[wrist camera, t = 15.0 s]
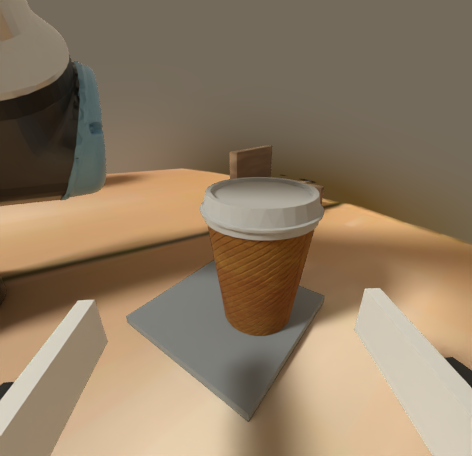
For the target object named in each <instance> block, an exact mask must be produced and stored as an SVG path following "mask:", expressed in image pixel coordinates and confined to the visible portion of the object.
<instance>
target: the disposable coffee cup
mask: <svg viewBox="0 0 472 456" xmlns="http://www.w3.org/2000/svg"><path fill="white" fill-rule="evenodd" d="M200 212H201V214H202V216H203V218H204V219H205V222H206V224H207V225H208V229H209V234H210V239H211V244H212V249H213V254H214V259H215V265H216V270H217V276H218V281H219V285H220V290H221V295H222V300H223V304H224V305H223V306H224V311H225V316H226V318H227V321H228V322H229V323H230V324H231V325H232V326H233V327H234V328H235V329H237V330H238V331H240V332H242V333H245V334H248V335H254V336H265V335H270V334H273V333H276V332H278V331H280V330H282V329H283V328H284V327H285V326H286V324H287V323H288V321H289V318H290V314H291V311H292V307H293V303H294V300H295V296H296V293H297V289H298V286H299V282H300V279H301V275H302V271H303V268H304V264H305V261H306V257H307V253H308V250H309V246H310V243H311V239H312V236H313V232H314V229H315V228H316V226H317V225H318V223H319V221H320V220H321V219H322V217H323V215H324V208H323V206H322V205H321V204H320V194H319V191H318V190H317V189H316V188H315V187H313V186H311V185H308V184H306V183H302V182H298V181H295V180H289V179H282V178H270V177H246V178H235V179H229V180H224V181H220V182H217V183H214V184H212V185H211V186H209V187H208V188H207V189H206V191H205V197H204V202H202V203H201V206H200Z"/></svg>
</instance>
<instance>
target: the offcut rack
mask: <svg viewBox="0 0 472 456" xmlns="http://www.w3.org/2000/svg"><path fill="white" fill-rule="evenodd" d="M271 159H272V146H261V147H255V148H250V149H244V150H239V151H233V152H230V179H235V178H246V177H270V178H271ZM308 185H311V186H313V187H315V188H316V189H317V190H318V191H319V194H320V204H322V197H323V190H324V186H318V185H312V184H308Z"/></svg>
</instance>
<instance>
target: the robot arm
mask: <svg viewBox="0 0 472 456" xmlns="http://www.w3.org/2000/svg"><path fill="white" fill-rule="evenodd" d="M105 181H106V158H105V144H104V135H103V131H102V121H101V108H100V101H99V94H98V88H97V82H96V78H95V74H94V72H93V70H92V69H91V68H90V67H89V66H87V65H82V64H81V63H78V62H77V61H74V62H71V58H70V55H69V51H68V48H67V45H66V43H65V41H64V40H63V38H62V36H61V35H60V34H59V33H58V32H57V31H56V30H55V29H54V28H53V27H52V26H51V25H49V24H48V23H47V22H45V21H44V20H43V19H41V18H40V17H39V16H38V15H36V14H35V13H33V12H32V11H31V9H30V8H29V6H28V3H27V0H0V206H5V205H14V204H24V203H33V202H43V201H52V200H66V199H68V198H69V197H75V196H80V195H86V194H92V193H95V192H97V191H99V190H100V189H101V188H102V187H103V186H104V184H105ZM5 295H6V286H5V284H4V282H3V280H2V278H1V276H0V304H1V303H2V301H3V299H4V297H5ZM354 330H355V331H356V333H357V335H358V336H359V338H360V339H361V341H362V343H363V344H364V346H365V348H366V349H367V351H368V352H369V354H370V356H371V357H372V359H373V360H374V362H375V364H376V365H377V367H378V369H379V370H380V372H381V373H382V375H383V377H384V378H385V380H386V381H387V383H388V385H389V386H390V388H391V389H392V391H393V393H394V394H395V396H396V398H397V399H398V401H399V402H400V404H401V406H402V407H403V409H404V410H405V412H406V414H407V415H408V417H409V419H410V420H411V422H412V423H413V425H414V427H415V428H416V430H417V431H418V433H419V435H420V436H421V438H422V439H423V441H424V443H425V444H426V446H427V448H428V449H429V451H430V452H431V454H432V456H472V371H471V370H470V369H469V368H467V367H466V366H465V365H463V364H462V363H460V362H459V361H457V360H456V359H455V358H453V357H448V358H444V357H443V356H442V355H441V354H440V353H439V352H438V351H437V350H436V349H435V347H434V346H433V345H432V344H431V343H430V342H429V341H428V340H427V339H426V338H425V337H424V335H423V334H422V333H421V332H420V331H419V330H418V329H417V328H416V327H415V326H414V325H413V323H412V322H411V321H410V320H409V319H408V318H407V317H406V316H405V315H404V314H403V313H402V312H401V310H400V309H399V308H398V307H397V306H396V305H395V304H394V303H393V302H392V301H391V300H390V298H389V297H388V296H387V295H386V294H385V293H384V292H383V291H382V290H381V289H380V288H365V290H364V294H363V298H362V302H361V305H360V309H359V313H358V317H357V321H356V325H355V329H354ZM107 342H108V341H107V337H106V334H105V331H104V328H103V325H102V321H101V318H100V315H99V312H98V308H97V305H96V302H95V300H78V301H77V302H76V304H75V305H74V306H73V308H72V309H71V310H70V311H69V313H68V314H67V315H66V317H65V318H64V319H63V320H62V322H61V323H60V324H59V326H58V327H57V328H56V329H55V331H54V332H53V333H52V335H51V336H50V337H49V338H48V340H47V341H46V342H45V344H44V345H43V346H42V347H41V349H40V350H39V351H38V353H37V354H36V355H35V356H34V358H33V359H32V360H31V362H30V363H29V364H28V365H27V367H26V368H25V369H24V371H23V372H22V373H21V374H20V376H19V377H18V378H17V380H16V381H15V382H6V383H3V384H2V385H0V456H50V455H51V453H52V451H53V449H54V447H55V445H56V443H57V441H58V439H59V437H60V435H61V433H62V431H63V429H64V427H65V425H66V423H67V421H68V419H69V417H70V415H71V413H72V411H73V409H74V407H75V405H76V403H77V401H78V399H79V397H80V395H81V393H82V392H83V390H84V388H85V386H86V384H87V382H88V380H89V378H90V376H91V374H92V372H93V370H94V368H95V366H96V364H97V362H98V360H99V358H100V356H101V354H102V352H103V350H104V348H105V346H106V344H107Z"/></svg>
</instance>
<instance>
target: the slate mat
mask: <svg viewBox="0 0 472 456" xmlns="http://www.w3.org/2000/svg"><path fill="white" fill-rule="evenodd" d="M323 301H324V295H321V294H319V293H316V292H314V291H311V290H309V289H306V288H304V287H301V286H298V289H297V293H296V296H295V300H294V303H293V307H292V311H291V314H290V318H289V321H288V323H287V324H286V326H285V327H284V328H283V329H282V330H280V331H278V332H276V333H273V334H270V335H265V336H254V335H248V334H245V333H242V332H240V331H238V330H237V329H235V328H234V327H233V326H232V325H231V324H230V323H229V322H228V321H227V318H226V316H225V311H224V306H223V305H224V304H223V300H222V295H221V290H220V285H219V281H218V276H217V270H216V265H215V260H213V261H212V262H210V263H208V264H207V265H205V266H204V267H202V268H201V269H199V270H198V271H196V272H194V273H193V274H191V275H190V276H188V277H187V278H185V279H184V280H182V281H180V282H179V283H177V284H176V285H174V286H173V287H171V288H170V289H168V290H166V291H165V292H163V293H162V294H160V295H159V296H157V297H156V298H154V299H153V300H151V301H149V302H148V303H146V304H145V305H143V306H142V307H140V308H139V309H137V310H135V311H134V312H132V313H131V314H129V315H128V316H126V318H127V322H128V323H129V324H130V325H131V326H132V327H134V328H135V329H136V330H137V331H138V332H140V333H141V334H142V335H143V336H145V337H146V338H147V339H148V340H149V341H151V342H152V343H153V344H154V345H156V346H157V347H158V348H159V349H160V350H162V351H163V352H164V353H165V354H167V355H168V356H169V357H170V358H171V359H173V360H174V361H175V362H176V363H178V364H179V365H180V366H181V367H182V368H184V369H185V370H186V371H187V372H188V373H190V374H191V375H192V376H193V377H195V378H196V379H197V380H198V381H199V382H201V383H202V384H203V385H204V386H206V387H207V388H208V389H209V390H210V391H212V392H213V393H214V394H215V395H217V396H218V397H219V398H220V399H221V400H223V401H224V402H225V403H226V404H228V405H229V406H230V407H231V408H232V409H234V410H235V411H236V412H237V413H239V414H240V415H241V416H242V417H243V418H245V419H246V420H247V421H248V422H249V420H250V418H251V417H252V415H253V414H254V412H255V410H256V409H257V407H258V406H259V404H260V402H261V401H262V399H263V398H264V396H265V394H266V393H267V391H268V390H269V388H270V386H271V385H272V383H273V382H274V380H275V378H276V377H277V375H278V374H279V372H280V370H281V369H282V367H283V366H284V364H285V362H286V361H287V359H288V358H289V356H290V354H291V353H292V351H293V350H294V348H295V346H296V345H297V343H298V342H299V340H300V338H301V337H302V335H303V334H304V332H305V330H306V329H307V327H308V326H309V324H310V322H311V321H312V319H313V318H314V316H315V314H316V313H317V311H318V310H319V308H320V306H321V305H322V303H323Z"/></svg>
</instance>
